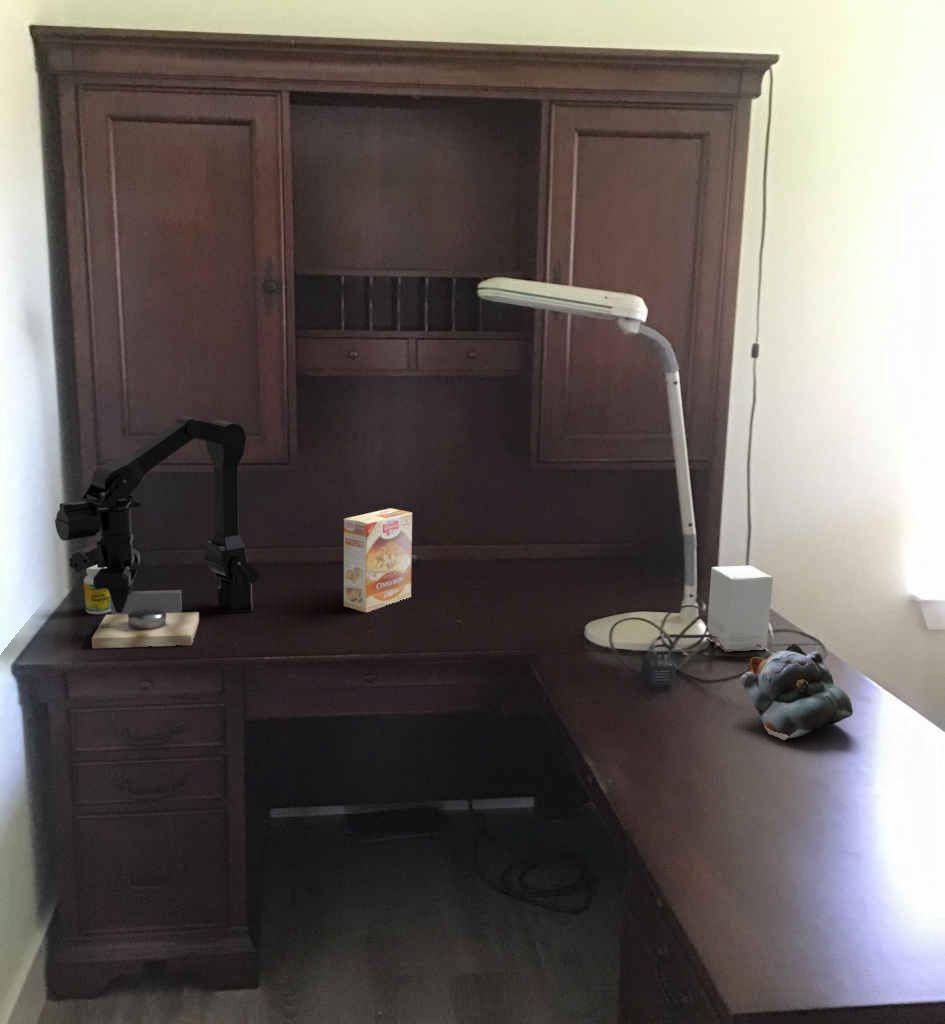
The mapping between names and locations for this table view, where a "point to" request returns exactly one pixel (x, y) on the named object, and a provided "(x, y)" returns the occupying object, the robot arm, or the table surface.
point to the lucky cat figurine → (795, 692)
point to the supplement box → (739, 606)
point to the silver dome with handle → (150, 608)
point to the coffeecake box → (377, 559)
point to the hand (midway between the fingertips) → (120, 610)
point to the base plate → (146, 632)
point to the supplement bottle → (95, 594)
